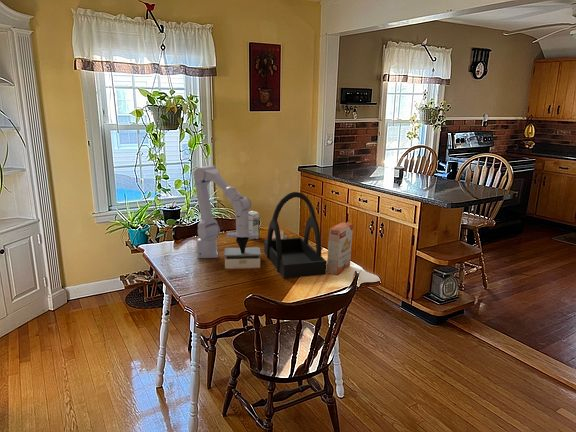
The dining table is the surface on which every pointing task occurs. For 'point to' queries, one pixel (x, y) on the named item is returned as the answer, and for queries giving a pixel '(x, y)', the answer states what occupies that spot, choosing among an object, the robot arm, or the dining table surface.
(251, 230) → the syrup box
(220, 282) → the dining table surface
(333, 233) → the cracker box
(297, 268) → the basket
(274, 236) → the packaged product
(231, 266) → the box
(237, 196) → the robot arm
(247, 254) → the lid
